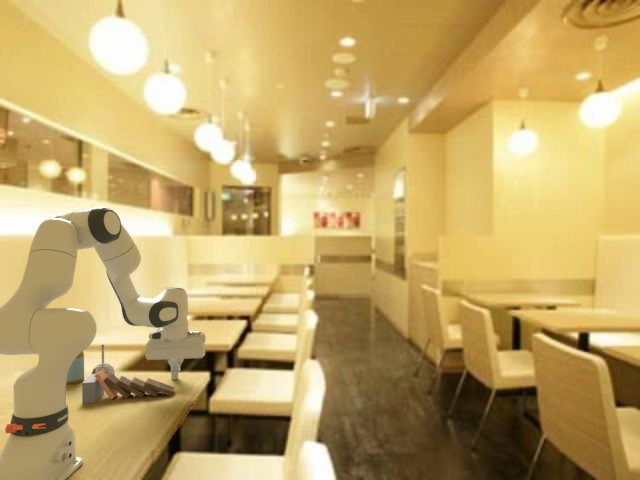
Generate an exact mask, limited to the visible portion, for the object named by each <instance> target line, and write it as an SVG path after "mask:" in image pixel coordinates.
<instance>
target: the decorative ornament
mask: <svg viewBox="0 0 640 480" xmlns="http://www.w3.org/2000/svg"><path fill="white" fill-rule="evenodd" d="M102 369H103V370H104V372H105V373H106V375H107V376H108V375H109V374H110V373H112V374H113V375H114V376H116V375H115V368H114V366H113V365H111V364H110V363H108V362H105V344H101V363H98V364H97V365H95V366H94V367H93V368H92V371H91V374H97V373H98V372H99V371H101V370H102Z"/></svg>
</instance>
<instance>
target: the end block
mask: <svg viewBox="0 0 640 480" xmlns="http://www.w3.org/2000/svg"><path fill="white" fill-rule="evenodd" d="M94 375H96V374H92V373H91V374H90V375H89V376H88V377H86V379H84V380H83V381H82V382H81V385H82V386H81V391H82V392H81V393H82V394H81V395H82V396H81V397H82V400H81V401H82V404H96V402H97V401H99V399H100V398H101V397H102V396H103V395H104V393H105V391H104V389H103V388H102V387H101V385H100V384H99V382H98V381H97V379H96V378H95V377H94Z"/></svg>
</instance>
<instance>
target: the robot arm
mask: <svg viewBox="0 0 640 480" xmlns="http://www.w3.org/2000/svg"><path fill="white" fill-rule="evenodd" d="M91 248H94V249H95V252H96V254H97V256H98V257H99V259H100V260H101V262H102V265H104V267H105V271H106V276H107V279H108V281H109V283H110V286H111V288H112V289H113V290H114V291H113V292H114V293H115V296H116V297H117V300H118V301H119V302H118V303H119V304H120V307H121V314H122V318H123V320H124V321H125V322H126V323H127V324H128V325H130V326H133V327H145V328H146V327H148V328H154V330H152V331H150V333H148V339H149V340H148V341H147V343H146V347H145V356H144V357H145V359H146V360H147V361H150V360H151V361H156V360H167V364H169V366H170V373H171V372H173V371H178V372H180V371H181V365H182V363H183V362H184V360H185V359H186V360H187V359H188V360H189V359H202V358H204V356H205V355H206V349H205V342H206V335H205V333H204V332H201V331H189V320H188V313H189V298H188V294H187V290H186V289H184V288H181V287H174V286H166V287H164V289H163V290H162V292H161V293H160V294H158V295H156V296H155V297H153V298H150V297H149V298H147V297H144V296H141V294H138V292H137V290H136V288H135V286H134V284H133V281H132V280H131V279H132V278H131V275H132V274H133V273H134V272H135V271H136V270H137V269H138V268H139V266H140V263H141V260H142V257H141V254H140V250H139V248H138V247H137V244H136V243H135V240H134V239H133V238H132V236H131V235H130V233H129V232H128V230H127V229H126V228H125V227H124V226H123V224H122V221H121V219H120V217H119V215H118V214H117V213H116V211H114V210H113V209H112V208H110V207H108V206H107V207H106V206H96V207H92V208H88V209H81V210H75V211H72V212H69V213H65V214H63V215H57V216H55V217H53V218H48V219H45V220H43V221H42V222H41V223H39V226H38V228H37V229H36V231H35V234H34V237H33V239H32V241H31V244H30V247H29V253H28V256H27V261H26V266H25V270H24V271H23V272H24V273H23V276H22V280H21V281H20V284H19V286H18V287H17V289H16V291H15V292H14V294H13V295H12V296H11V297H10V298H9V299H8V300H7V302H5V303H4V304H3V305H1V307H0V355H4V356H19V355H21V356H23V355H24V356H25V355H38V362H37V365H35V366H33V367H32V368H30V369H27V370H26V371H24V372H23V373H21V374H20V375H19V376H18V377H17V378H16V380H15V381H14V383H13V413H12V414H11V415H12V416H11V419H10V423H7V424H6V426H5V428H4V429H5V433H6V434H9V435H8V438H7V440H6V442H5V445H4V446H3V449H2V451H1V454H0V480H66V479H67V478H68V477H70V476H71V475H72V474H73V473H74V472H75V471H76V470H78V469H79V467H81V466H82V465H83V463H84V461H83V458H82V457H80V456H77V444H76V443H77V442H76V432H75V430H74V428H72V427H71V426H70V424H69V423H68V421H69V415H70V413H69V407H68V404H67V385H68V384H67V375H68V372H69V369H70V366H71V364H72V363H73V361H74V360H75V358H76V357H77V356H78V355H79V354H80V353H81V352H82V351H83V352H84V351H85V350H86V349H88V348H89V347H90V346H91V344H93V342H94V340H95V337H96V334H97V323H96V320H95V318H94V316H93V315H92V314H91V312H90V311H88V310H84V309H79V308H71V307H54V308H53V307H52V308H50V307H49V308H47V307H48V306H49V305H50V304H51V303H52V302H53V301H55V300H56V299H58V298H60V297H62V296H64V295H66V294H67V293H68V292H69V291H70V290H71V288H72V286H73V282H74V277H75V270H76V265H77V258H78V251H79V250H83V249H84V250H86V249H91ZM173 359H179V365H173V363H172V361H173Z"/></svg>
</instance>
